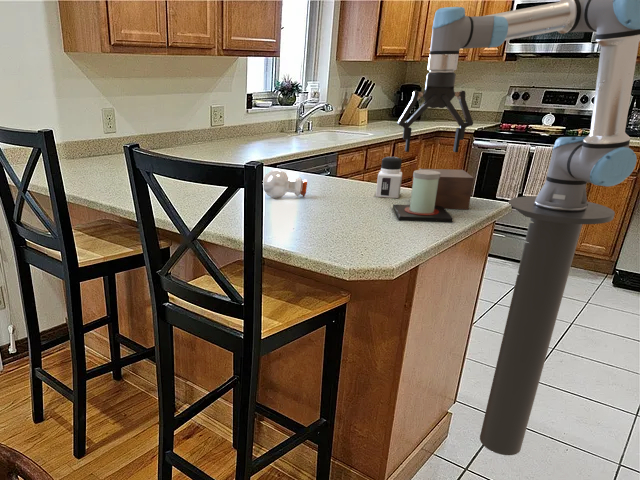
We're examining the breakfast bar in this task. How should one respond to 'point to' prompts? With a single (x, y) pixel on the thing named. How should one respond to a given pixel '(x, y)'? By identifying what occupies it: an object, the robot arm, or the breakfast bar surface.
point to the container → (389, 178)
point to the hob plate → (422, 214)
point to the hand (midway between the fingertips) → (431, 151)
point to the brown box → (453, 189)
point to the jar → (424, 191)
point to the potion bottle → (283, 184)
